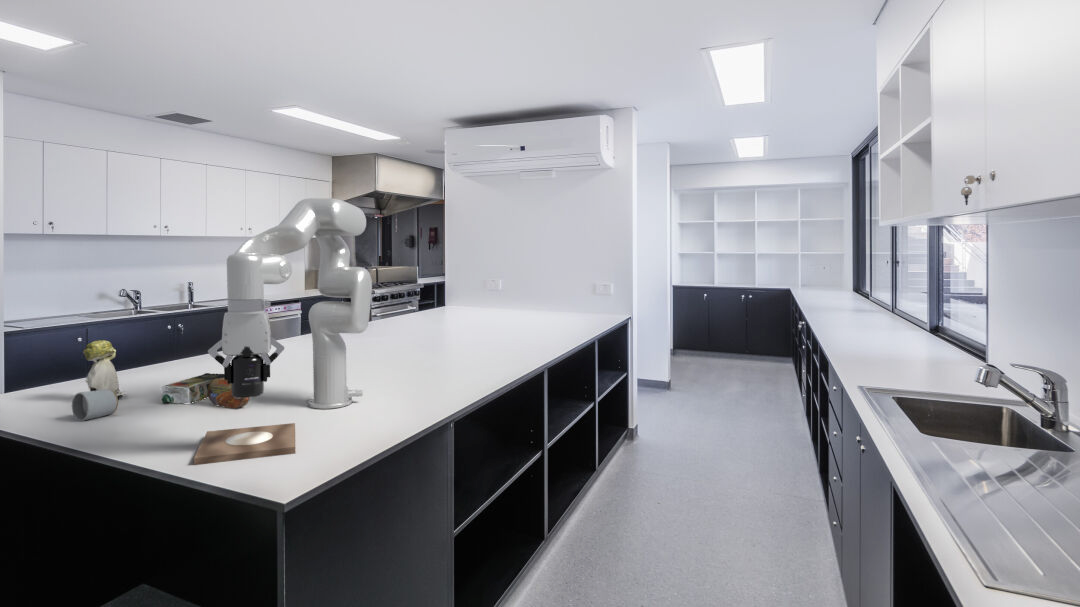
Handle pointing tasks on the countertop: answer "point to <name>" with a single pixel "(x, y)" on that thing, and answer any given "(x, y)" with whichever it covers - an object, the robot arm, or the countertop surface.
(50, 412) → the countertop surface
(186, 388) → the juice carton
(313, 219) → the robot arm
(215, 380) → the tin
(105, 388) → the beige figurine with hat
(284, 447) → the walnut board
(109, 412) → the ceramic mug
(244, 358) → the supplement bottle
